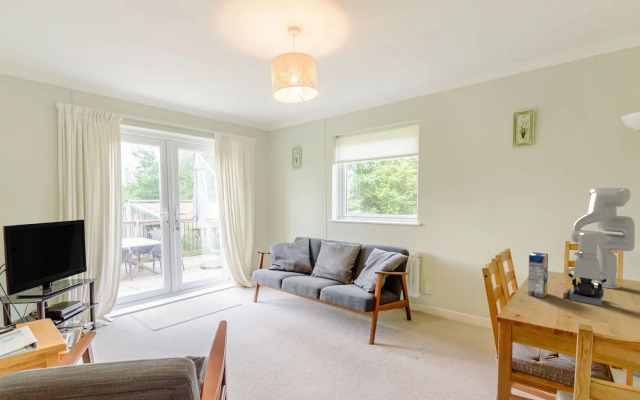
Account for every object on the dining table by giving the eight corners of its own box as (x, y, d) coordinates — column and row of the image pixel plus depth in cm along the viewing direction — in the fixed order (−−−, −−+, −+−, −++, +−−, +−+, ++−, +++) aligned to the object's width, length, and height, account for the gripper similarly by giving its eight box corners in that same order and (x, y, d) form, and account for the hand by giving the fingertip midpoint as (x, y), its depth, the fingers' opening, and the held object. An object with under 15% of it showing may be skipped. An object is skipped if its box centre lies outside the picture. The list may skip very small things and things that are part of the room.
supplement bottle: (589, 298, 166) (589, 275, 166) (597, 302, 159) (598, 279, 159) (574, 297, 167) (574, 274, 167) (581, 301, 161) (582, 278, 160)
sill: (568, 293, 173) (568, 288, 173) (570, 294, 172) (570, 288, 172) (563, 298, 165) (563, 292, 165) (566, 298, 164) (566, 293, 164)
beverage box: (528, 295, 170) (529, 254, 170) (532, 290, 178) (533, 252, 178) (543, 298, 166) (544, 256, 165) (547, 293, 173) (548, 253, 173)
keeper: (573, 294, 171) (574, 283, 171) (603, 300, 162) (603, 288, 162) (569, 299, 163) (569, 288, 163) (600, 305, 154) (600, 293, 154)
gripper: (565, 254, 166) (564, 286, 167) (609, 259, 153) (608, 294, 154) (568, 252, 171) (567, 283, 172) (610, 257, 159) (610, 291, 159)
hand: (586, 288), depth 163 cm, fingers open, 9 cm apart
